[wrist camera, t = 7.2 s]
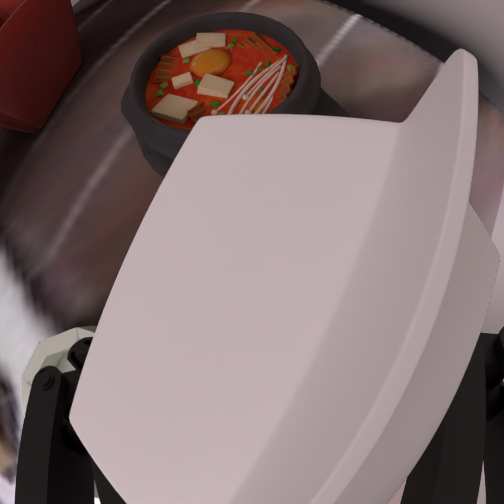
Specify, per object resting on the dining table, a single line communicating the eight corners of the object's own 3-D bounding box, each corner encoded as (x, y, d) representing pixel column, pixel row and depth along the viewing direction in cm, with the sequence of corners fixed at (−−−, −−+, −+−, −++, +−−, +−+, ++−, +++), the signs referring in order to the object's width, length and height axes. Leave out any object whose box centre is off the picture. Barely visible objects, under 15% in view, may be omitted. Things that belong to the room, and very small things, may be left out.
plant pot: (42, 161, 31) (-50, 99, 14) (-18, 145, 33) (-84, 104, 16) (112, 45, 33) (62, -36, 16) (39, 52, 35) (-9, -2, 18)
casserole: (378, 114, 28) (402, 64, 20) (282, 260, 27) (286, 242, 18) (196, 32, 32) (181, -15, 24) (96, 136, 30) (57, 98, 22)
